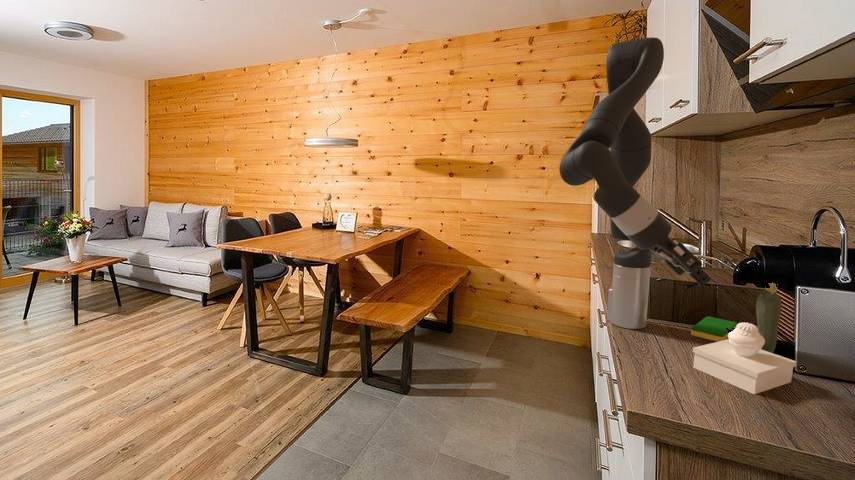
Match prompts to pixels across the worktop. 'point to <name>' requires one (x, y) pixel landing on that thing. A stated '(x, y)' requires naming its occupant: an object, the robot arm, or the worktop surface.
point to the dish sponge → (712, 328)
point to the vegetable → (768, 316)
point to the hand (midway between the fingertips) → (693, 277)
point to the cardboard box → (743, 367)
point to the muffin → (746, 340)
